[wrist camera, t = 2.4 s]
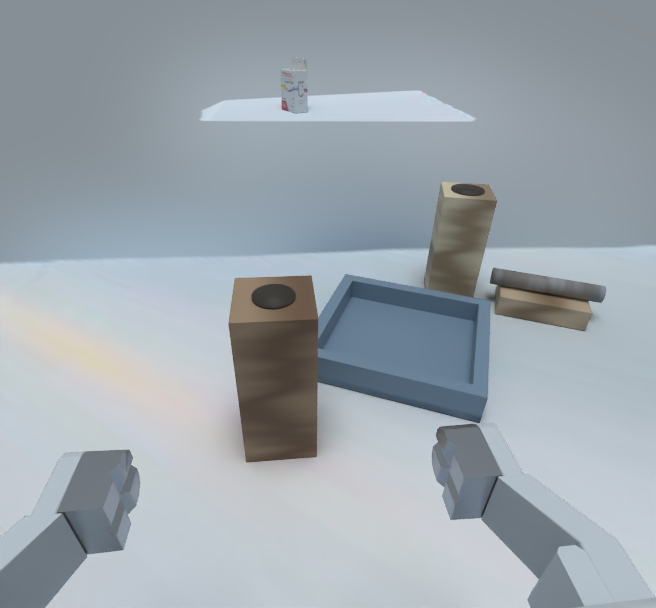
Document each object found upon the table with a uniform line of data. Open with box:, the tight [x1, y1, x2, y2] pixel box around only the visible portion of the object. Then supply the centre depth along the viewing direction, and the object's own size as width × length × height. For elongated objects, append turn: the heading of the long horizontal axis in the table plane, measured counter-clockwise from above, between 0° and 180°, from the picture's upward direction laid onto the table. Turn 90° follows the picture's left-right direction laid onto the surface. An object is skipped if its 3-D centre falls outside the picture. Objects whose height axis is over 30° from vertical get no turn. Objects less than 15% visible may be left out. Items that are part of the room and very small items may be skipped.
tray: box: [317, 274, 491, 423], centre depth 37 cm, size 14×13×2 cm
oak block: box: [424, 182, 497, 298], centre depth 42 cm, size 4×4×11 cm
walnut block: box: [229, 276, 318, 462], centre depth 26 cm, size 4×4×11 cm
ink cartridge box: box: [281, 57, 307, 113], centre depth 132 cm, size 9×5×15 cm, turn 35°
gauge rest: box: [490, 268, 606, 331], centre depth 42 cm, size 10×5×4 cm, turn 71°
